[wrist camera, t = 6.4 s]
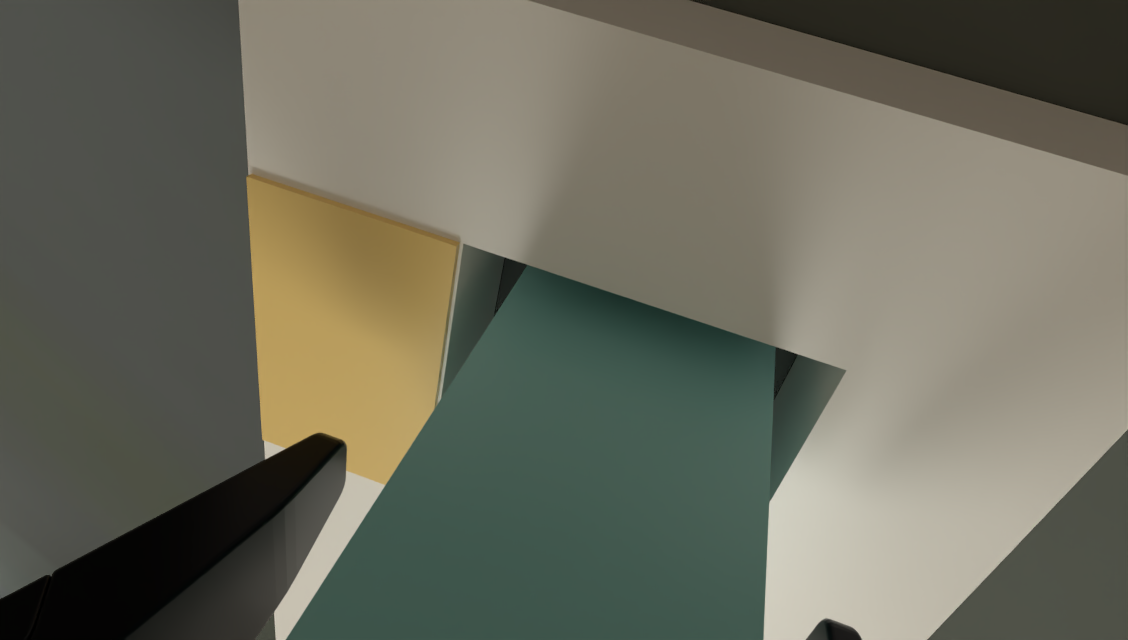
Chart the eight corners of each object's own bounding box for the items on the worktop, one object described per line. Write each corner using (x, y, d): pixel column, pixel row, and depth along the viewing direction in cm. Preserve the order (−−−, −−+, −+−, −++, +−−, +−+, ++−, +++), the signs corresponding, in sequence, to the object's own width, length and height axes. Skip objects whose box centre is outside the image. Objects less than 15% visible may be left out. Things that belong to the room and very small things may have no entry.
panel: (1202, 146, 9) (1323, 236, 7) (647, 856, 24) (632, 951, 22) (342, -99, 10) (226, -86, 8) (325, 724, 25) (282, 803, 23)
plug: (777, 300, 12) (740, 1164, 4) (702, 461, 14) (588, 1207, 6) (551, 228, 12) (124, 888, 4) (514, 396, 15) (191, 1023, 7)
